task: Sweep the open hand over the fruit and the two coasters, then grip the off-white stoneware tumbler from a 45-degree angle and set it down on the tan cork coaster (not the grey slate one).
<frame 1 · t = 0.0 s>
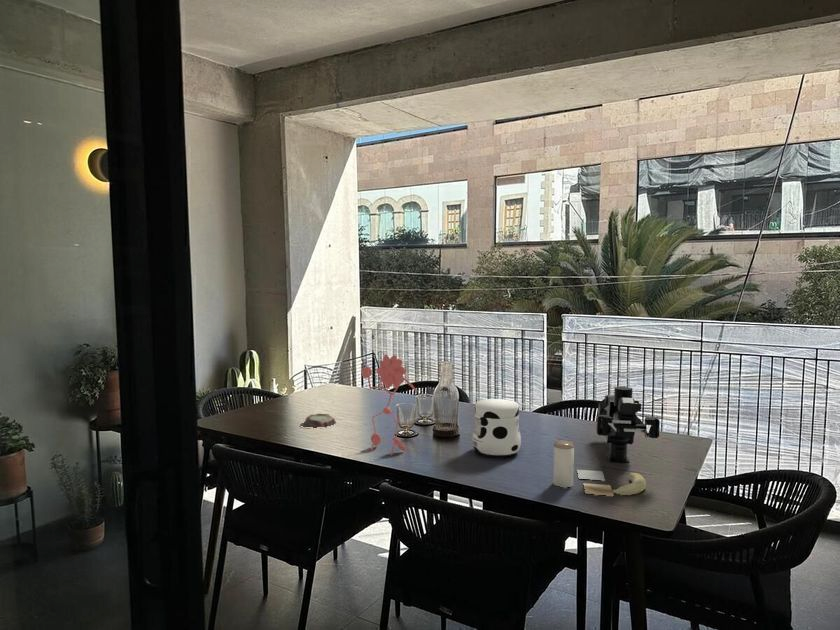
hand: (632, 433, 178), 17 cm above the table, tool horizontal, fingers open, 9 cm apart
cork coaster: (598, 490, 177), on the table
slate coaster: (590, 475, 189), on the table
quiche: (317, 425, 251), on the table
milk container: (496, 453, 212), on the table
fruit: (629, 489, 179), on the table
pink blossom sprig: (392, 449, 217), on the table
tumbler: (563, 484, 182), on the table
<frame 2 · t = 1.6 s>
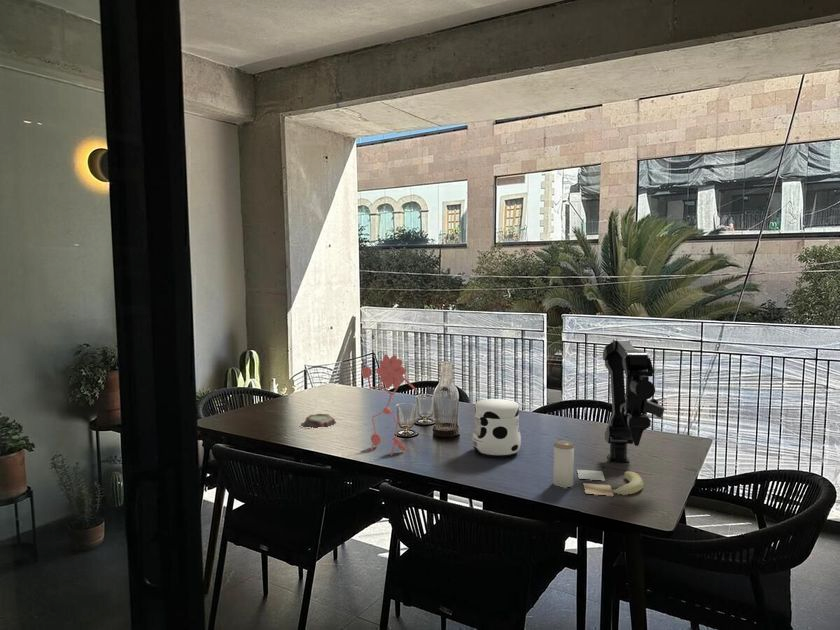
hand: (633, 441, 185), 12 cm above the table, tool pointing down, fingers open, 9 cm apart
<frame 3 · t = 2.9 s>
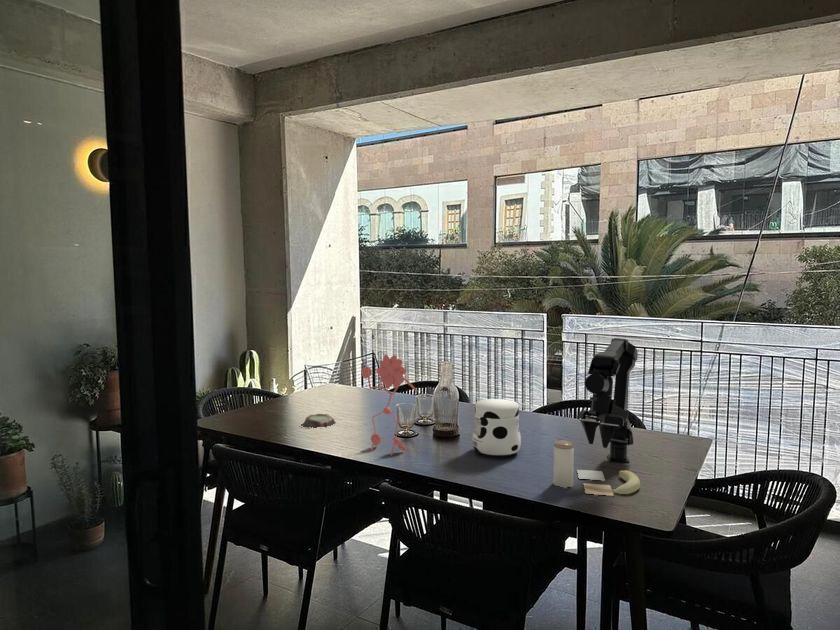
hand: (597, 445, 181), 12 cm above the table, tool pointing down, fingers open, 9 cm apart
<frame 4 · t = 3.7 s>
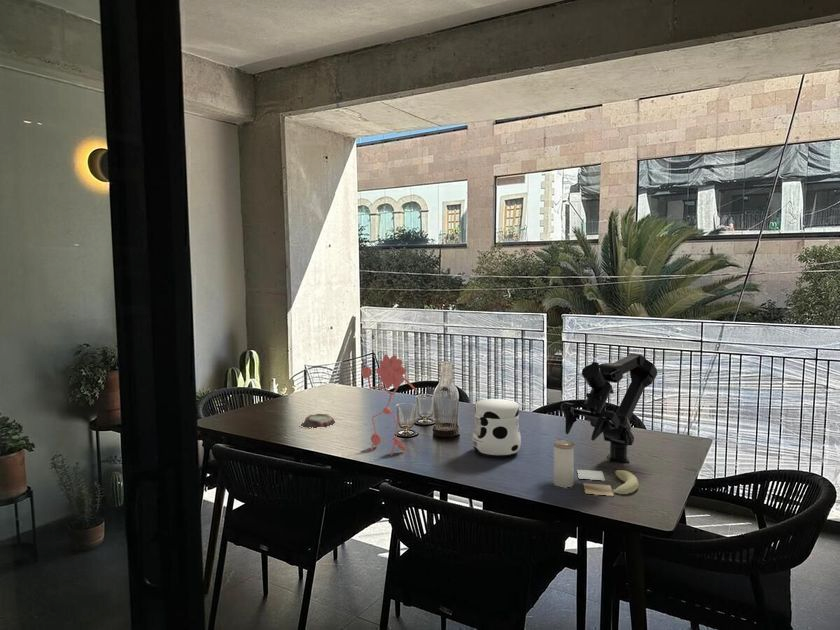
hand: (579, 436, 186), 13 cm above the table, tool tilted 45°, fingers open, 9 cm apart
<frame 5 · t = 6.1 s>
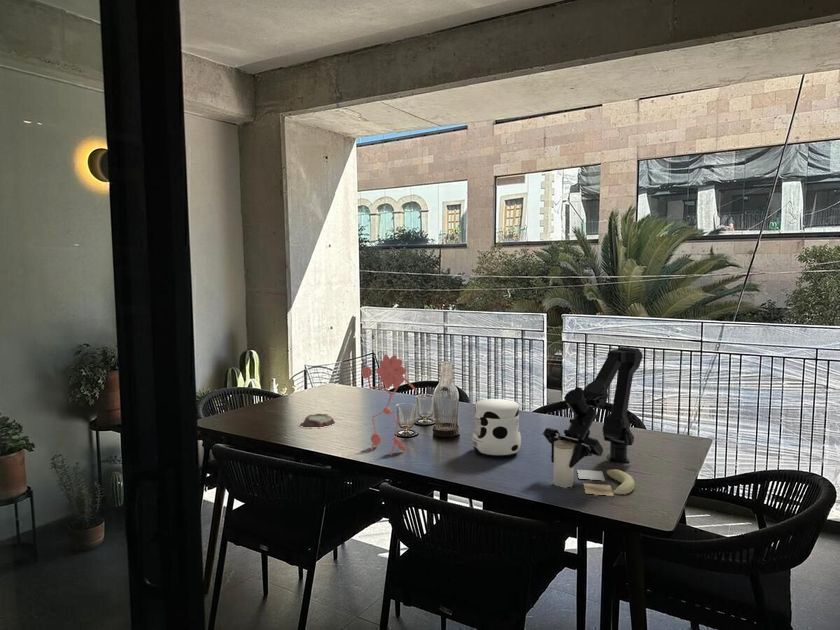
hand: (561, 464, 180), 7 cm above the table, tool tilted 45°, fingers closed on tumbler, 6 cm apart
fruit: (618, 486, 181), on the table
tumbler: (563, 484, 182), on the table, touching gripper
everything else where it was.
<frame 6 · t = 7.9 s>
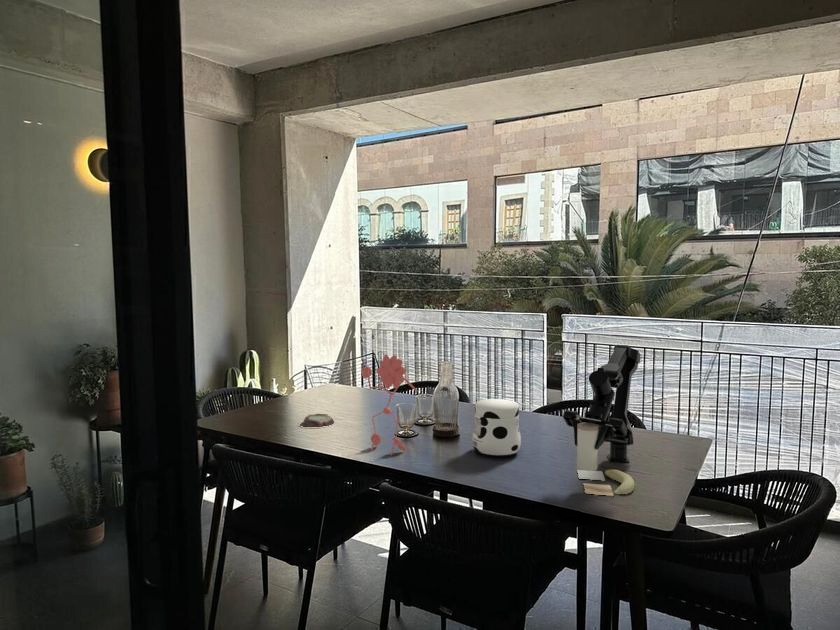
hand: (585, 446, 176), 13 cm above the table, tool tilted 45°, fingers closed on tumbler, 6 cm apart
tumbler: (587, 467, 178), point 7 cm above the table, touching gripper
everything else where it was.
when the fingers open (8 cm above the table, at t = 9.7 s): tumbler stays where it is, resting on cork coaster.
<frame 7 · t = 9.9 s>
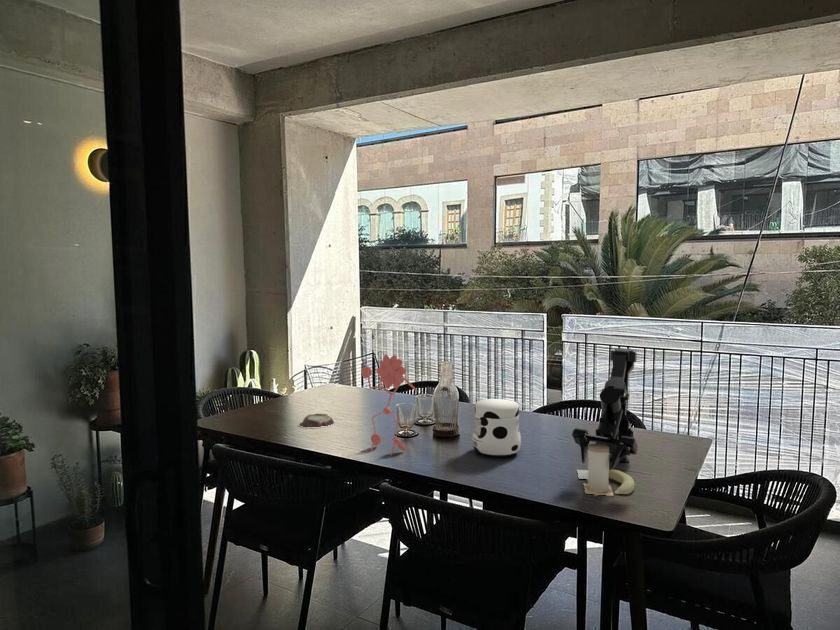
hand: (597, 465, 175), 8 cm above the table, tool tilted 45°, fingers open, 8 cm apart
tumbler: (598, 488, 177), resting on cork coaster
everything else where it was.
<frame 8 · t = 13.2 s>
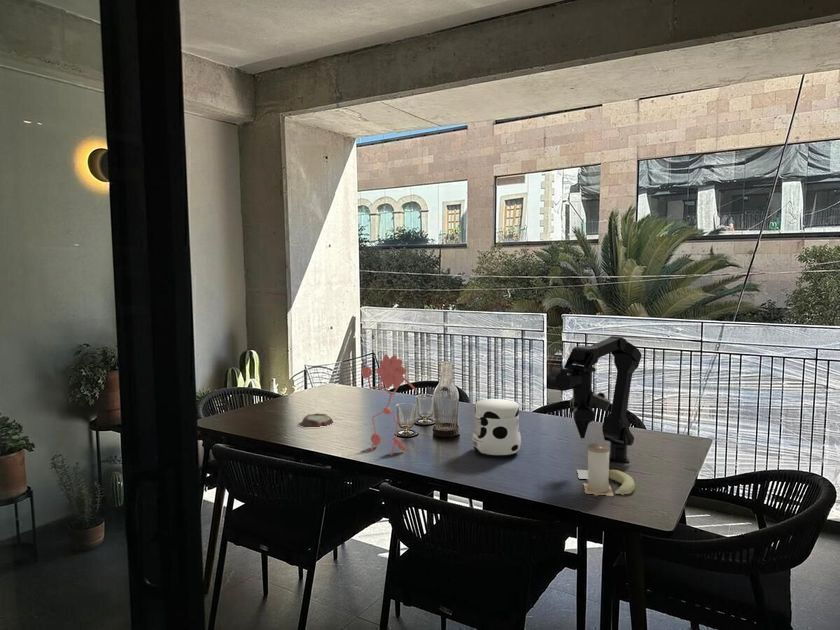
hand: (581, 434, 190), 13 cm above the table, tool pointing down, fingers open, 9 cm apart
at the end: tumbler inside the target area on the cork coaster (0.1 cm from its centre), point 0.5 cm above the cork coaster's base; tumbler tilted 1°; the gripper is holding nothing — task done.
